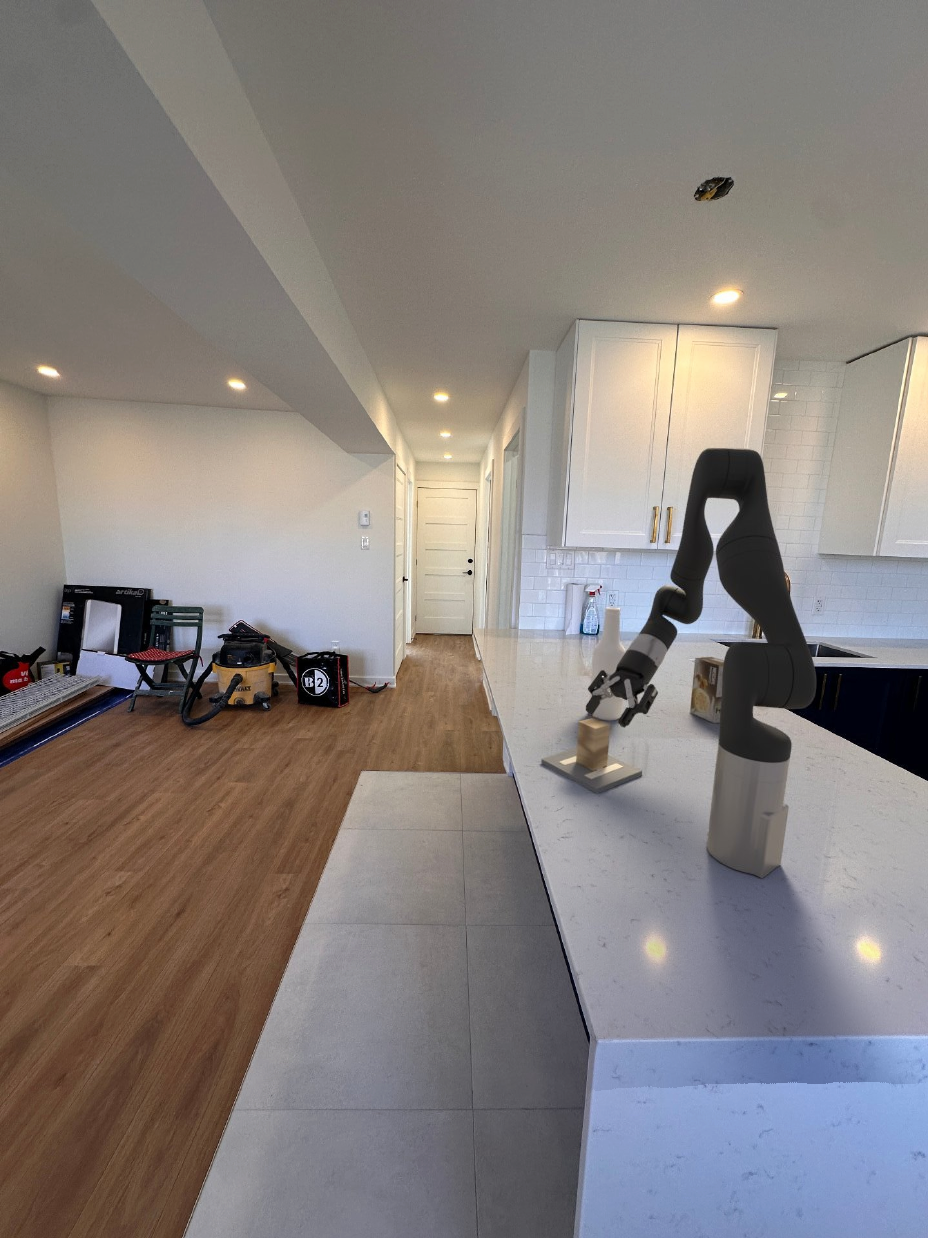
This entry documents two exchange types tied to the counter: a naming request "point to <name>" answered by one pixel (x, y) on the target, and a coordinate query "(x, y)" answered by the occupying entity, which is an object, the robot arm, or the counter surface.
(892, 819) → the counter surface
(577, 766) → the letter board
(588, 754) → the oak block
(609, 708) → the alcohol
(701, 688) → the coffee box
